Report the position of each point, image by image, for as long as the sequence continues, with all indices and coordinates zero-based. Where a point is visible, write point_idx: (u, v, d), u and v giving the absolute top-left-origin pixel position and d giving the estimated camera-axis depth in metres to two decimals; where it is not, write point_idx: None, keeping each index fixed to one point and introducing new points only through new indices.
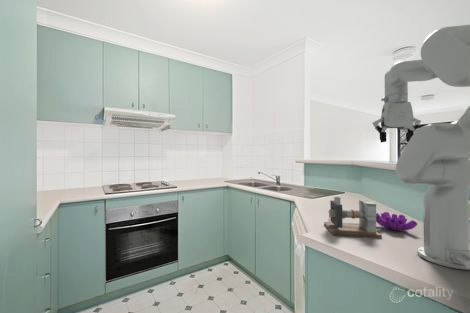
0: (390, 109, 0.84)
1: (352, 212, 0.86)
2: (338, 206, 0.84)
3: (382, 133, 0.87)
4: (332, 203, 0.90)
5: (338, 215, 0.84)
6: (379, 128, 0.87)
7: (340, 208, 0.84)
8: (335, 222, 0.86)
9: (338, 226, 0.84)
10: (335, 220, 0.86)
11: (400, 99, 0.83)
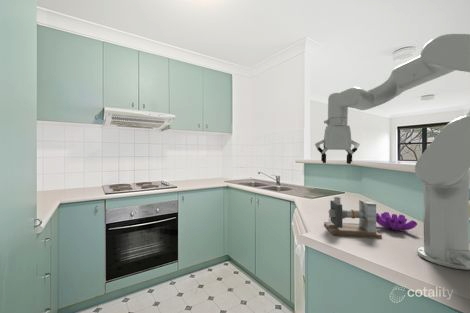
0: (330, 132, 0.87)
1: (352, 212, 0.86)
2: (338, 206, 0.84)
3: (323, 155, 0.90)
4: (332, 203, 0.90)
5: (338, 215, 0.84)
6: (320, 150, 0.90)
7: (340, 208, 0.84)
8: (335, 222, 0.86)
9: (338, 226, 0.84)
10: (335, 220, 0.86)
11: (338, 123, 0.86)
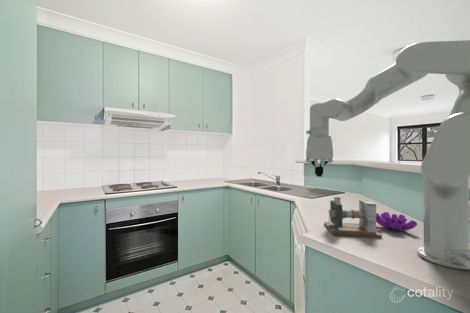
0: (312, 142, 0.88)
1: (352, 212, 0.86)
2: (338, 206, 0.84)
3: (316, 168, 0.89)
4: (332, 203, 0.90)
5: (338, 215, 0.84)
6: (313, 163, 0.89)
7: (340, 208, 0.84)
8: (335, 222, 0.86)
9: (338, 226, 0.84)
10: (335, 220, 0.86)
11: (320, 133, 0.86)
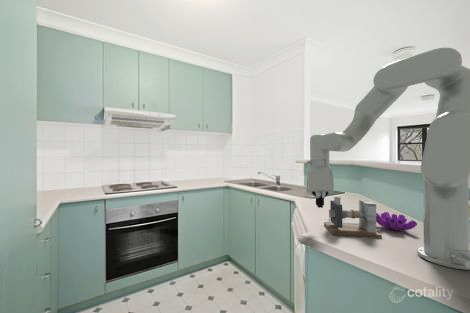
0: (312, 174, 0.87)
1: (352, 212, 0.86)
2: (338, 206, 0.84)
3: (317, 199, 0.89)
4: (332, 203, 0.90)
5: (338, 215, 0.84)
6: (314, 194, 0.89)
7: (340, 208, 0.84)
8: (335, 222, 0.86)
9: (338, 226, 0.84)
10: (335, 220, 0.86)
11: (320, 165, 0.86)
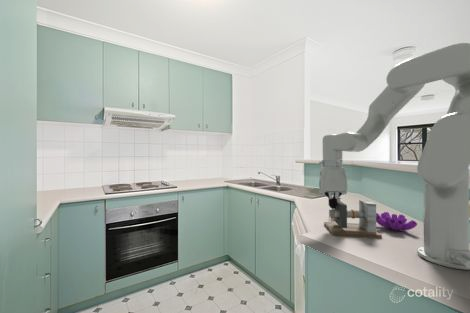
0: (325, 174, 0.86)
1: (352, 212, 0.86)
2: (343, 206, 0.84)
3: (330, 199, 0.88)
4: None
5: (343, 215, 0.83)
6: (327, 194, 0.88)
7: (345, 208, 0.83)
8: (339, 222, 0.85)
9: (343, 226, 0.83)
10: (339, 220, 0.85)
11: (334, 166, 0.85)
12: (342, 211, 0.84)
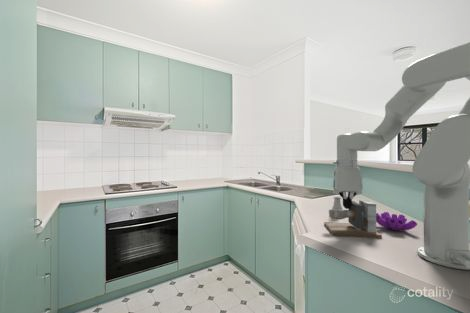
0: (340, 174, 0.86)
1: (352, 212, 0.86)
2: (358, 207, 0.83)
3: (344, 200, 0.87)
4: None
5: (358, 216, 0.83)
6: (341, 194, 0.87)
7: (360, 209, 0.82)
8: (354, 223, 0.85)
9: (358, 227, 0.83)
10: (354, 221, 0.84)
11: (349, 165, 0.84)
12: (357, 212, 0.83)
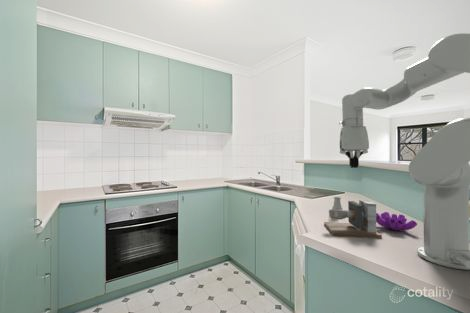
0: (347, 133, 0.86)
1: (352, 212, 0.86)
2: (358, 207, 0.83)
3: (351, 159, 0.88)
4: (351, 204, 0.89)
5: (358, 216, 0.83)
6: (348, 154, 0.88)
7: (360, 209, 0.82)
8: (354, 223, 0.85)
9: (358, 227, 0.83)
10: (354, 221, 0.84)
11: (355, 124, 0.85)
12: (357, 212, 0.83)
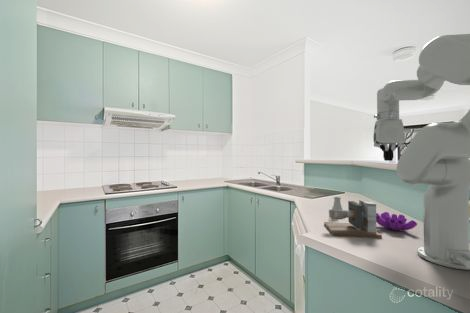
0: (382, 126, 0.87)
1: (352, 212, 0.86)
2: (358, 207, 0.83)
3: (386, 152, 0.88)
4: (351, 204, 0.89)
5: (358, 216, 0.83)
6: (383, 147, 0.88)
7: (360, 209, 0.82)
8: (354, 223, 0.85)
9: (358, 227, 0.83)
10: (354, 221, 0.84)
11: (392, 117, 0.85)
12: (357, 212, 0.83)
